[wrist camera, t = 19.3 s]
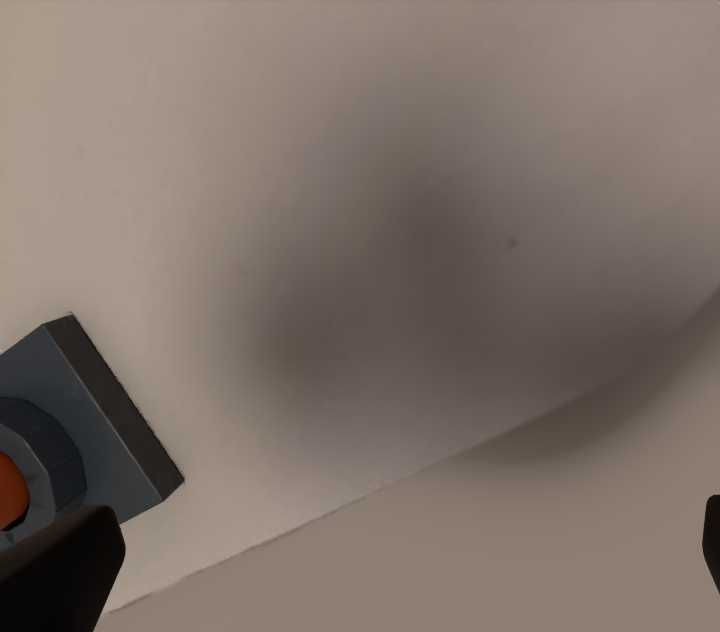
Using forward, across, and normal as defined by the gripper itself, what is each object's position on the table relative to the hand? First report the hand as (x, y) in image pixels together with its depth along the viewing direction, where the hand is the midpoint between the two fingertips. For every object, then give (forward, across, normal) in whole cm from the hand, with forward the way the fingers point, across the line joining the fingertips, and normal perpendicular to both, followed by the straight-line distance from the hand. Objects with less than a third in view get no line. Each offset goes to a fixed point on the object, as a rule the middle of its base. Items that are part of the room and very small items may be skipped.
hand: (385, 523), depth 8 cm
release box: (+13, +18, +7) cm, 23 cm away
